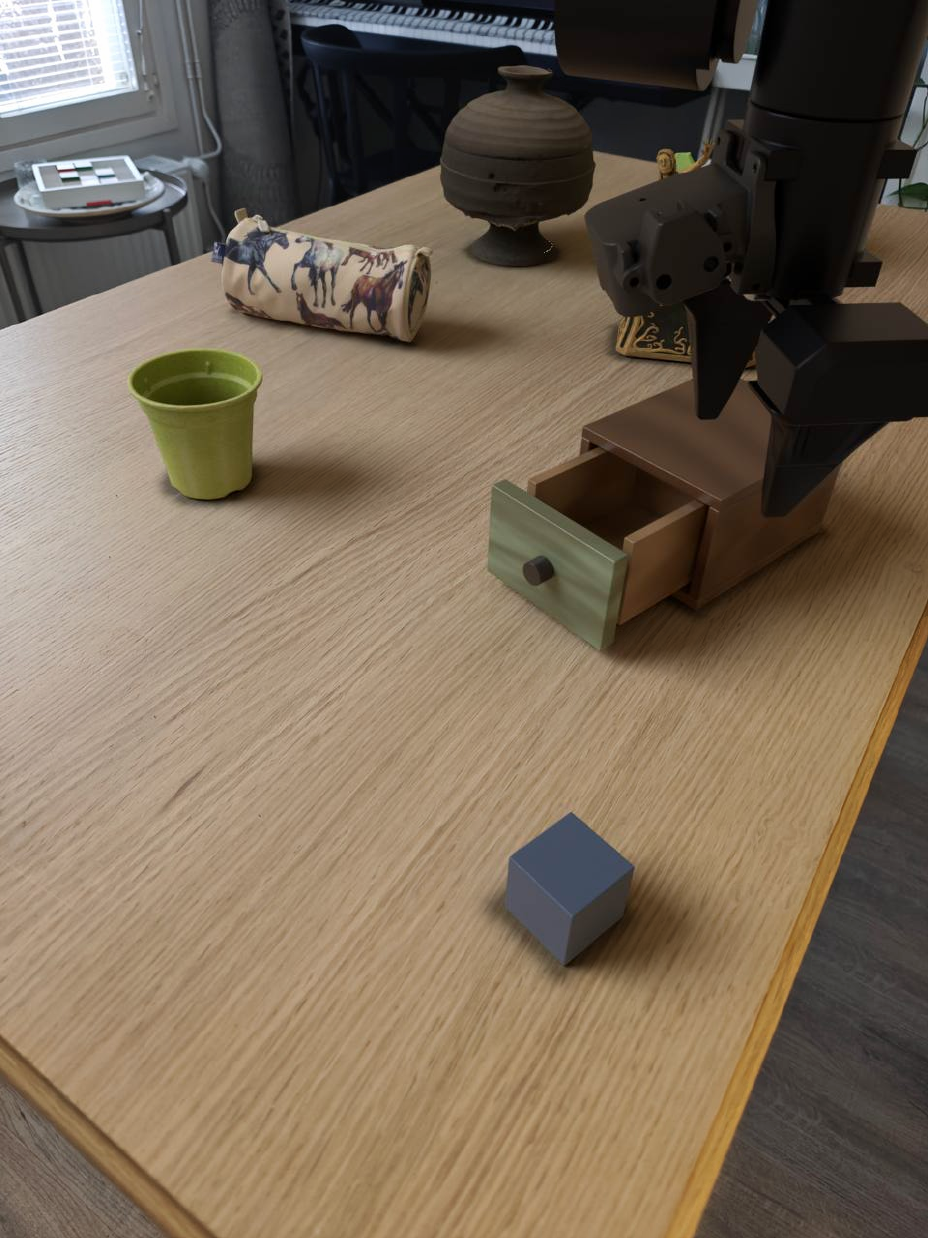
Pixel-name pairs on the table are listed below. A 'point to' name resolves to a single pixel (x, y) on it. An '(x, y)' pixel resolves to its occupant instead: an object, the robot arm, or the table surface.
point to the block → (567, 887)
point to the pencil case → (324, 280)
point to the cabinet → (713, 479)
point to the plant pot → (201, 416)
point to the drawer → (594, 541)
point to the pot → (517, 166)
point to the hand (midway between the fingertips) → (737, 463)
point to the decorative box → (668, 324)
